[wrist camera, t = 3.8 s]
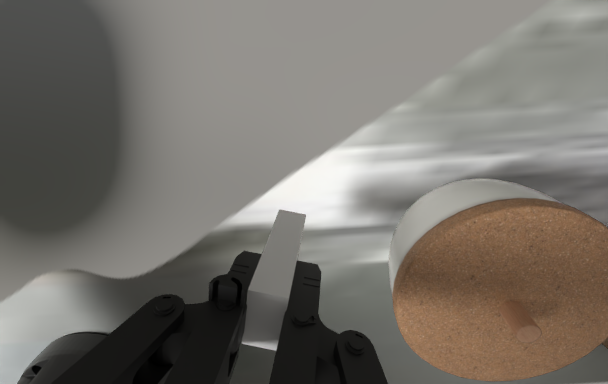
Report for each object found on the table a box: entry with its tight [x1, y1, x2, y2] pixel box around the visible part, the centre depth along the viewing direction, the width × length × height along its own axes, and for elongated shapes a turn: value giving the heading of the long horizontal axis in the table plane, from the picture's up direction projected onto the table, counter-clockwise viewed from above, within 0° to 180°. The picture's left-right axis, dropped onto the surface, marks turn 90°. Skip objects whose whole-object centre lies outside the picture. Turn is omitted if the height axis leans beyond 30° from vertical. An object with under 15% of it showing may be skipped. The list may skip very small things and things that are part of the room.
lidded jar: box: [388, 178, 608, 381], centre depth 18 cm, size 11×11×9 cm
